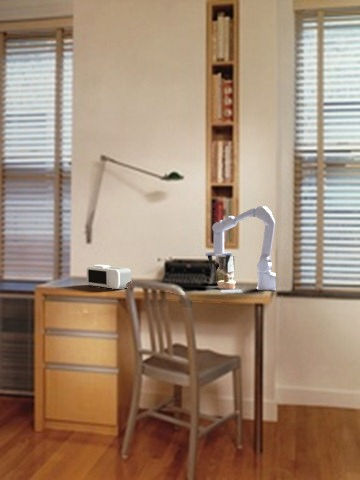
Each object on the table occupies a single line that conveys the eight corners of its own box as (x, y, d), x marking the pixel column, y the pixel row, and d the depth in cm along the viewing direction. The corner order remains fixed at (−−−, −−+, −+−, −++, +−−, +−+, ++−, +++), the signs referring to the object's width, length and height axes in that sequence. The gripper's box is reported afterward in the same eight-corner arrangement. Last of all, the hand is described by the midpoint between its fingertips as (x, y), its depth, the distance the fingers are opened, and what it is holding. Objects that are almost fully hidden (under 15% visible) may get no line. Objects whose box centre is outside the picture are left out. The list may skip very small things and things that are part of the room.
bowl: (234, 287, 293) (234, 281, 293) (235, 289, 284) (235, 284, 284) (217, 287, 293) (217, 281, 293) (218, 289, 284) (218, 284, 284)
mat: (241, 290, 282) (241, 289, 282) (242, 293, 271) (242, 292, 271) (220, 290, 282) (220, 289, 282) (221, 293, 271) (221, 292, 271)
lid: (235, 281, 293) (235, 273, 293) (236, 284, 283) (236, 275, 283) (216, 281, 293) (216, 273, 293) (217, 284, 283) (217, 275, 283)
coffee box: (234, 284, 307) (234, 255, 306) (227, 285, 302) (227, 256, 301) (222, 282, 313) (222, 255, 312) (215, 283, 308) (215, 255, 307)
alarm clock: (86, 286, 300) (86, 265, 299) (99, 284, 307) (99, 264, 306) (118, 291, 281) (118, 268, 281) (131, 289, 288) (131, 267, 288)
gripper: (231, 244, 296) (231, 268, 297) (205, 244, 297) (205, 268, 297) (232, 244, 289) (232, 269, 290) (205, 244, 290) (205, 269, 290)
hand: (218, 269), depth 293 cm, fingers open, 7 cm apart
